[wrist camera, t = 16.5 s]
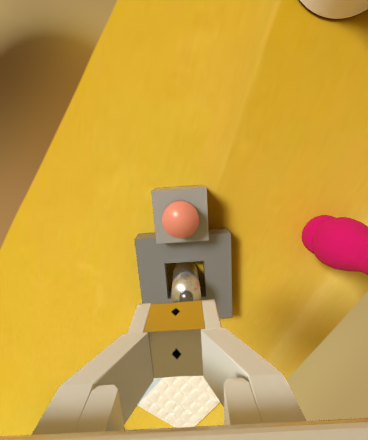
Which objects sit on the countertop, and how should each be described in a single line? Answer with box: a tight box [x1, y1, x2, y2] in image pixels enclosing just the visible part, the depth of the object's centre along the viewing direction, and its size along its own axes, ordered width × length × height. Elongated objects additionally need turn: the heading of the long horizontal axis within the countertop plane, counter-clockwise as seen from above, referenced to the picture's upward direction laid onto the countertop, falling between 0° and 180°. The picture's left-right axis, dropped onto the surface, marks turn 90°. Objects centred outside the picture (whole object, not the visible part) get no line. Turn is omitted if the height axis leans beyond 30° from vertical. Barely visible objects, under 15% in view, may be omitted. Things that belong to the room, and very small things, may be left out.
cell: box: [171, 262, 201, 302], centre depth 31 cm, size 4×4×8 cm
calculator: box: [138, 376, 220, 428], centre depth 40 cm, size 13×20×2 cm, turn 52°
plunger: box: [162, 200, 199, 238], centre depth 26 cm, size 4×4×2 cm
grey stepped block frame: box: [135, 185, 232, 319], centre depth 32 cm, size 21×14×6 cm, turn 4°
